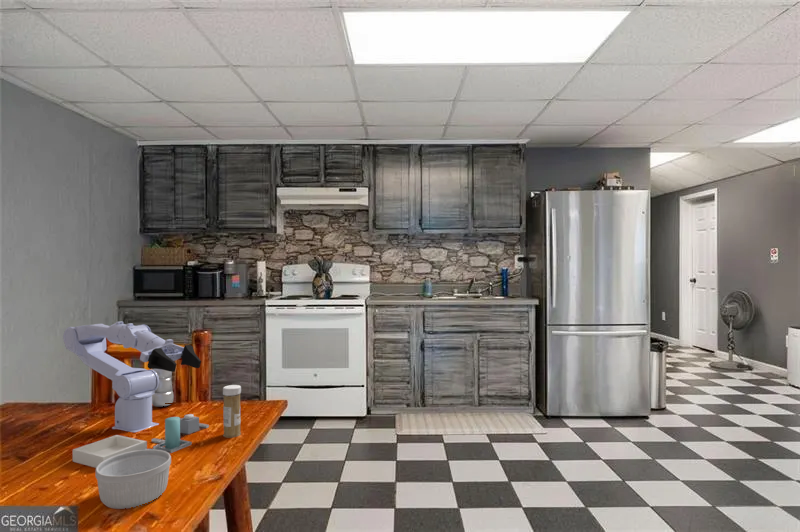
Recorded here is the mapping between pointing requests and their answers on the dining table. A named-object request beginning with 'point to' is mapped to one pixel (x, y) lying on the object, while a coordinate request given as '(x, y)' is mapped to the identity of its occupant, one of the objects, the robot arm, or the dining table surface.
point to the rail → (203, 426)
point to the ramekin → (133, 478)
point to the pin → (172, 432)
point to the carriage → (189, 424)
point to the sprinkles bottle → (231, 411)
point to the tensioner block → (169, 450)
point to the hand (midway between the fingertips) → (187, 366)
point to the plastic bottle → (163, 389)
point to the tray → (106, 449)
